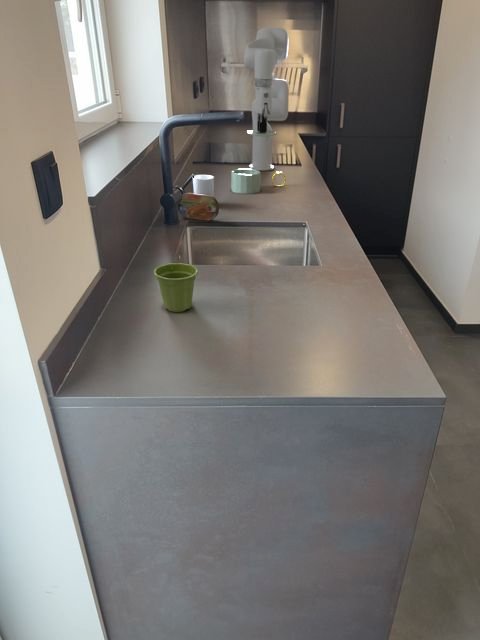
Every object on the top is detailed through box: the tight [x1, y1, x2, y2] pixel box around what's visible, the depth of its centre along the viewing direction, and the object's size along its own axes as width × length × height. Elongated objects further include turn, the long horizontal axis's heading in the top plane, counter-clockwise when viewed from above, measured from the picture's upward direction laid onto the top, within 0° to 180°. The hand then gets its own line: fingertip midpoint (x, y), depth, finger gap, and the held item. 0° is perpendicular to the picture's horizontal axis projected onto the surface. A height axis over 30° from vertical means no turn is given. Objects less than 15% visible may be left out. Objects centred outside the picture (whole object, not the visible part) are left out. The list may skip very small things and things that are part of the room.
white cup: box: [192, 174, 215, 197], centre depth 185 cm, size 8×8×10 cm
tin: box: [176, 192, 220, 222], centre depth 169 cm, size 15×3×8 cm, turn 70°
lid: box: [246, 120, 278, 137], centre depth 215 cm, size 13×13×6 cm
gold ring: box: [271, 171, 287, 188], centre depth 215 cm, size 6×3×6 cm, turn 95°
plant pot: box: [153, 262, 199, 313], centre depth 110 cm, size 9×9×9 cm
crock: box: [230, 168, 262, 195], centre depth 206 cm, size 12×12×8 cm
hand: (261, 131), depth 216 cm, fingers closed on lid, 2 cm apart
